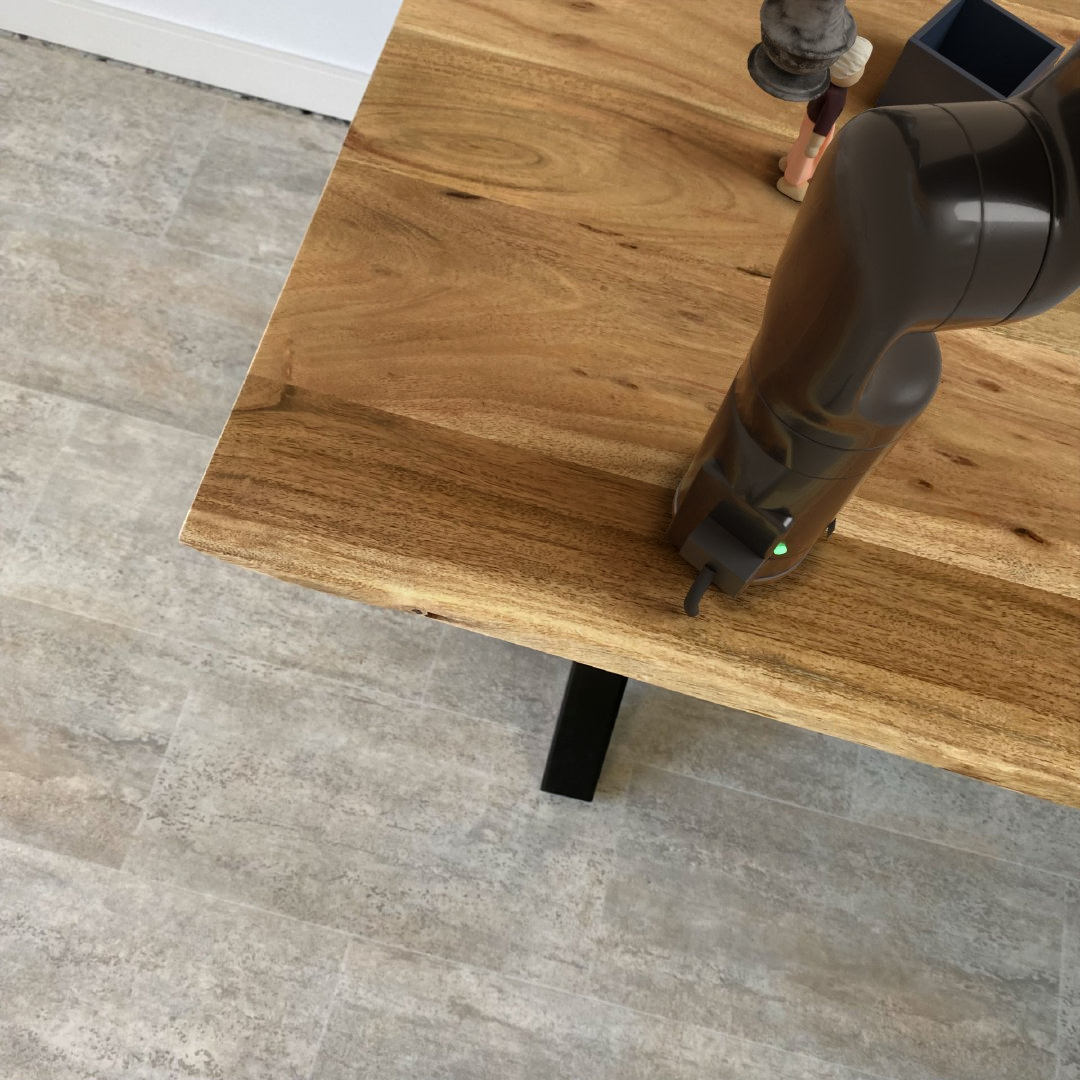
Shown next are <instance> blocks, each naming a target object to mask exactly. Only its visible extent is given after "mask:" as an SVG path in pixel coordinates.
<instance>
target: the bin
mask: <svg viewBox="0 0 1080 1080" xmlns="http://www.w3.org/2000/svg"><path fill="white" fill-rule="evenodd" d="M1065 50H1066V47H1065V46H1064V45H1062V44H1060V43H1059V42H1057V41H1056V40H1054V39H1052V38H1051V37H1050V36H1048V35H1046V33H1045V34H1044V33H1043V32H1041V31H1040V30H1038V29H1037V28H1035V27H1034V26H1032V25H1031V24H1029V23H1028V22H1026V21H1024V20H1023V19H1021V18H1019V16H1017V15H1016V14H1013V13H1012V12H1010V11H1009V10H1008V9H1005V8H1004V7H1003V6H1001V5H1000V4H998V3H996V2H995V1H994V0H950V1H949V2H947V3H946V4H945V5H944V6H943V7H942V8H941V9H940V10H939V11H938V12H937V13H936V14H934V15H933V16H931V18H930V19H929V20H928V21H926V22H925V23H924V24H923V25H922V26H921V27H920V28H919V29H918V30H917V31H916V32H914V33H913V34H912V35H911V36H910V37H909V38H908V39H907V40H906V43H905V44H904V45H903V49H902V50H901V51H900V52H901V53H900V55H899V56H898V58H897V60H896V62H895V64H894V66H893V68H892V69H891V72H890V73H889V76H888V78H887V80H886V82H885V84H884V85H883V88H882V90H881V92H880V93H879V96H878V97H877V100H876V101H875V103H874V107H875V108H877V107H883V106H896V105H918V104H934V103H954V102H974V101H994V100H1004V99H1008V98H1011V97H1013V96H1015V95H1017V94H1019V93H1021V92H1023V91H1025V90H1026V89H1028V88H1029V87H1031V86H1032V85H1034V84H1035V83H1036V82H1037V81H1038V80H1040V79H1041V78H1042V77H1043V76H1044V75H1045V74H1046V73H1047V72H1048V71H1049V70H1050V69H1052V68H1053V67H1054V66H1055V65H1056V64H1057V62H1058V61H1059V60H1060V58H1061V56H1063V53H1064V51H1065Z"/></svg>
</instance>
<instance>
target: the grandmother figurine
mask: <svg viewBox="0 0 1080 1080" xmlns="http://www.w3.org/2000/svg"><path fill="white" fill-rule="evenodd" d="M873 49H874V47H873V44H872V43H871V41H870V40H869V39H867V38H865V37H863V36H860V35H857V37H856V40H855V43H854V44H853V46H852V47H851V48H850V49H849V51H847V52H846V53H844V54H843V55H842V56H841V57H840V58H839V60H837V61H836V62H835V63H834V64H833V65H832V66H831V67H829V68H830V71H831V81H830V84H829V87H828V89H827V90H826V91H825V93H824V94H823V95H821V96H820V97H818V98H816V99H814V100H811V101H807V105H806V111H805V113H804V116H803V119H802V122H801V124H800V127H799V132H798V136H797V138H796V139H795V141H794V143H793V144H792V146H791V148H790V150H789V151H788V154H787V155H784V156H782V157H781V158H780V159H779V161H778V168H779V170H780V171H781V172H782V173H784V175H783V176H781V177H780V178H779V179H778V180H777V182H776V188H777V190H778V191H780V192H781V193H782V194H784V195H786V196H788V197H789V198H791V199H792V200H794V201H798V202H802V201H803V198H804V196H805V193H806V190H807V188H808V185H809V183H810V182H808V181H809V180H810V179H811V178H812V176H813V174H814V171H815V169H816V167H817V165H818V163H819V161H820V159H821V157H822V155H823V153H824V151H825V150H826V148H827V146H828V145H829V143H830V142H831V141H832V139H833V138H834V134H835V131H836V129H835V128H836V122H837V120H838V118H839V117H840V116H841V114H842V112H843V111H844V108H845V105H846V100H847V94H848V90H849V87H852V86H853V85H855V84H857V83H858V82H859V81H860V80H861V78H862V77H863V74H864V72H865V67H866V64H867V62H868V61H869V59H870V57H871V55H872V52H873Z"/></svg>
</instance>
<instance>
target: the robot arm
mask: <svg viewBox="0 0 1080 1080" xmlns="http://www.w3.org/2000/svg"><path fill="white" fill-rule="evenodd" d="M808 183H809V185H808V188H807V190H806V193H805V196H804V198H803V201H801V203H800V205H799V209H798V211H797V214H796V216H795V220H794V221H793V224H792V227H791V229H790V231H789V233H788V236H787V238H786V241H785V243H784V246H783V249H782V251H781V253H780V255H779V258H778V260H777V262H776V264H775V267H774V270H773V273H772V276H771V279H770V281H769V286H768V289H767V295H766V300H765V305H764V309H763V314H762V321H761V325H760V327H759V329H758V331H757V333H756V335H755V337H754V339H753V341H752V343H751V345H750V347H749V349H748V351H747V352H746V355H745V357H744V359H743V361H742V363H741V364H740V366H739V368H738V370H737V372H736V373H735V375H734V378H733V380H732V382H731V385H730V386H729V387H728V390H727V391H726V394H725V396H724V398H723V399H722V402H721V404H720V406H719V408H718V410H717V412H716V413H715V416H714V418H713V419H712V421H711V423H710V425H709V427H708V429H707V431H706V433H705V435H704V436H703V437H704V438H703V439H702V441H701V443H700V445H699V447H698V449H697V451H696V453H695V455H694V457H693V458H692V461H691V463H690V465H689V467H688V469H687V471H686V472H685V473H684V475H683V476H682V478H681V480H680V481H679V484H678V485H677V488H676V489H675V492H674V495H673V498H672V504H671V521H670V523H669V525H668V527H667V528H666V531H665V532H664V537H665V539H666V540H668V542H670V543H671V544H672V545H673V546H675V547H676V548H677V549H679V552H678V555H679V556H680V557H682V558H683V559H684V560H685V561H686V562H688V563H689V564H690V565H692V566H693V567H694V568H695V569H696V570H698V571H699V573H698V575H697V577H696V578H695V579H694V581H693V582H692V584H691V586H690V588H689V589H688V591H687V593H686V595H685V598H684V599H683V600H684V601H683V610H684V611H685V614H686V615H687V617H691V618H695V617H697V616H698V615H699V614H700V606H699V604H700V602H701V600H702V598H703V596H704V594H705V593H706V591H707V589H708V588H709V587H710V585H711V583H713V584H714V585H716V586H717V587H718V588H720V589H721V590H722V591H723V592H724V593H726V594H727V595H728V596H729V597H731V599H735V598H736V597H737V596H740V595H741V594H742V593H743V592H744V591H745V590H746V589H747V588H748V587H750V586H753V587H754V586H762V585H768V584H772V583H775V582H777V581H780V580H782V579H783V578H785V577H787V576H788V575H790V574H791V573H793V572H794V571H795V570H796V569H797V568H798V567H799V565H800V564H801V563H802V562H803V561H804V560H805V558H806V557H807V555H808V553H809V552H810V551H811V549H812V548H813V546H814V545H815V544H816V543H817V541H818V540H819V539H820V538H821V537H822V535H823V534H824V533H825V532H826V539H825V540H828V539H829V538H830V537H831V535H832V534H833V532H835V531H836V524H837V517H838V516H839V515H840V513H841V512H842V511H843V509H844V508H845V507H846V506H847V505H848V504H849V503H850V501H851V500H852V499H853V497H854V496H856V494H857V493H858V492H859V490H860V489H861V488H862V487H863V486H864V484H866V482H867V481H868V479H869V478H870V477H871V476H872V475H873V474H874V472H875V471H876V470H877V469H878V468H879V466H880V465H881V464H882V463H883V461H885V459H886V458H887V457H888V456H889V455H890V454H891V452H892V451H893V450H894V449H895V448H896V446H898V444H899V443H900V442H901V440H902V439H903V438H904V437H905V435H906V434H907V433H908V432H909V431H910V429H911V428H912V427H913V426H914V425H915V423H916V422H917V421H918V419H919V418H920V417H921V416H923V414H924V412H925V411H926V410H927V408H929V405H930V404H931V403H932V402H933V399H934V397H935V395H936V394H937V391H938V388H939V387H940V383H941V378H942V373H943V359H942V351H941V348H940V344H939V342H938V338H937V335H936V334H935V333H938V332H939V333H941V332H950V331H962V330H972V329H979V328H980V329H982V328H987V327H1001V326H1007V325H1011V324H1016V323H1019V322H1022V321H1026V320H1029V319H1031V318H1033V317H1036V316H1040V315H1042V314H1044V313H1046V312H1048V311H1050V310H1052V309H1054V308H1056V307H1058V305H1059V304H1062V303H1063V302H1064V301H1066V300H1067V299H1068V298H1069V297H1070V296H1072V295H1073V294H1074V293H1075V292H1076V291H1078V290H1079V289H1080V37H1079V38H1078V40H1076V41H1075V43H1074V44H1073V46H1071V48H1069V50H1068V51H1067V52H1066V53H1065V54H1064V55H1062V57H1060V58H1059V59H1058V60H1057V62H1056V63H1055V65H1054V66H1053V68H1052V69H1050V70H1049V71H1048V72H1047V73H1046V74H1045V75H1044V76H1043V77H1042V78H1041V79H1040V80H1038V81H1037V82H1036V83H1035V84H1034V85H1032V86H1031V87H1029V88H1028V89H1026V90H1025V91H1023V92H1021V93H1019V94H1017V95H1015V96H1013V97H1011V98H1008V99H1004V100H994V101H974V102H954V103H934V104H918V105H896V106H883V107H872V108H869V109H865V110H863V111H861V112H860V113H857V114H856V115H855V116H853V117H851V118H850V119H849V120H848V121H847V122H846V123H845V124H844V125H843V126H842V127H841V128H840V129H839V130H838V131H837V133H835V135H833V139H832V141H831V142H830V143H829V145H828V146H827V148H826V150H825V151H824V153H823V155H822V157H821V159H820V161H819V163H818V165H817V167H816V169H815V171H814V174H813V176H812V178H810V181H809V182H808ZM826 530H827V531H826Z"/></svg>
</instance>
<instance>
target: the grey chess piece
mask: <svg viewBox="0 0 1080 1080" xmlns="http://www.w3.org/2000/svg"><path fill="white" fill-rule="evenodd" d="M846 3H847V0H763V1H762V3H761V7H760V9H759V21H760V40H761V41H760V42H758V43H756V44H755V45H754V46H753V48H752V49H751V50H750V51H749V54H748V56H747V60H746V65H747V66H746V67H747V71H748V73H749V76H750V78H751V79H752V81H753V82H754V84H755V85H756V86H757V87H759V88H760V89H761V90H762V91H763V92H765V93H767V94H768V95H770V96H772V97H773V98H776V99H779V100H782V101H784V102H789V103H808V102H809V101H811V100H814V99H816V98H818V97H820V96H821V95H823V94H824V93H825V91H826V90H827V89H828V87H829V84H830V81H831V71H830V68H829V67H831V66H832V65H833V64H834V63H835V62H836V61H837V60H839V58H840V57H841V56H842V55H843V54H844V53H846V52H847V51H849V49H850V48H851V47H852V46H853V44H854V43H855V40H856V37H857V36H858V26H857V25H858V24H857V22H856V20H855V18H854V15H853V13H852V12H851V11H850V10H849V8H848V7H847V6H846Z"/></svg>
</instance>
